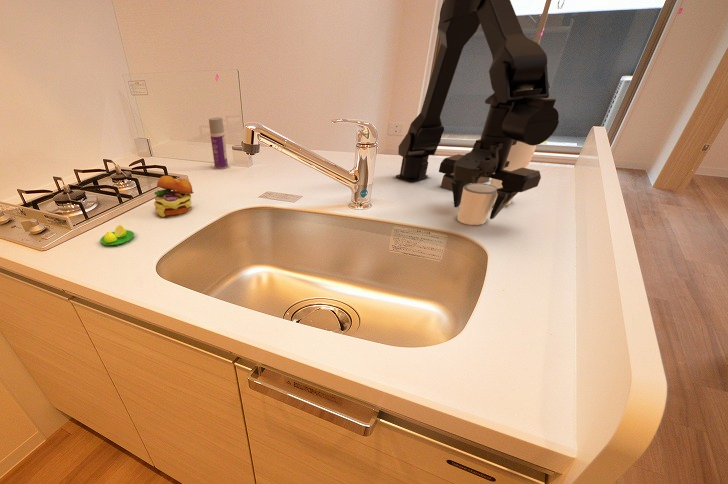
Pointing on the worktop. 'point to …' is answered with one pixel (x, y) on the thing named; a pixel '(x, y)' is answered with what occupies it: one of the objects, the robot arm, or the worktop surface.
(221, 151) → the container
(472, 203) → the cream cup
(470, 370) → the worktop surface
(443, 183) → the walnut block near
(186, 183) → the cheeseburger
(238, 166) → the worktop surface
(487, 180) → the walnut block far
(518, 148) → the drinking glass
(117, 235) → the lemon
